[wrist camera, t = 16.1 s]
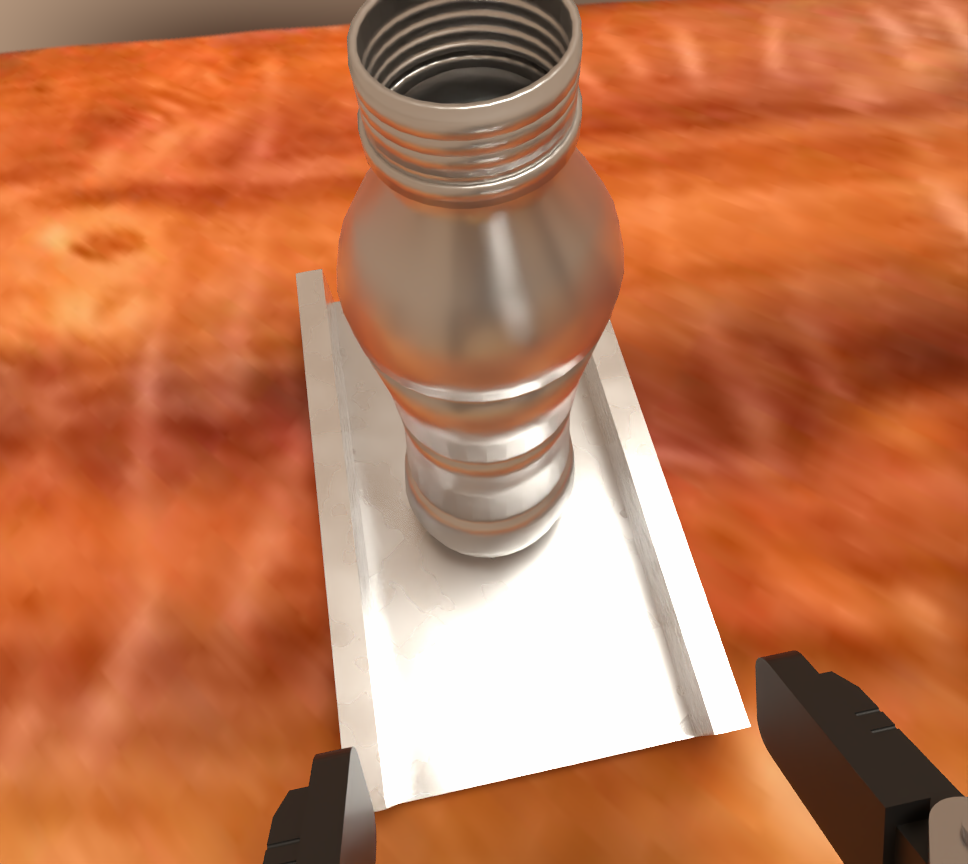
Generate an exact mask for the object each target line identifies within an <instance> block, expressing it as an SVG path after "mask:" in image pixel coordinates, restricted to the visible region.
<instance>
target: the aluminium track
mask: <svg viewBox="0 0 968 864" xmlns="http://www.w3.org/2000/svg"><path fill="white" fill-rule="evenodd" d="M296 281H297V291H298V302H299V312H300V322H301V333H302V343H303V353H304V364H305V374H306V384H307V395H308V405H309V416H310V426H311V436H312V447H313V457H314V467H315V478H316V488H317V498H318V509H319V519H320V530H321V540H322V550H323V561H324V571H325V581H326V592H327V602H328V613H329V623H330V633H331V644H332V654H333V664H334V675H335V685H336V695H337V706H338V716H339V727H340V737H341V747H342V749H344V748H348V747H353V746H354V747H355V748H356V750H357V753H358V756H359V759H360V763H361V766H362V770H363V773H364V777H365V781H366V784H367V788H368V791H369V795H370V798H371V802H372V806H373V810H374V812H376V811H381V810H385V809H388V808H390V807H392V806H394V805H397V804H400V803H404V802H409V801H413V800H418V799H422V798H426V797H431V796H435V795H440V794H444V793H449V792H453V791H457V790H462V789H466V788H471V787H475V786H479V785H484V784H488V783H493V782H497V781H502V780H506V779H510V778H515V777H519V776H524V775H528V774H532V773H537V772H541V771H546V770H550V769H555V768H559V767H563V766H568V765H572V764H577V763H581V762H585V761H590V760H594V759H599V758H603V757H608V756H612V755H616V754H621V753H625V752H630V751H634V750H638V749H643V748H647V747H652V746H656V745H661V744H665V743H669V742H674V741H678V740H683V739H687V738H691V737H696V736H706V735H716V734H720V733H725V732H729V731H734V730H738V729H742V728H747V727H751V726H750V724H749V721H748V718H747V715H746V712H745V709H744V706H743V703H742V700H741V698H740V695H739V692H738V689H737V686H736V683H735V680H734V677H733V674H732V672H731V669H730V666H729V663H728V660H727V657H726V654H725V651H724V648H723V646H722V643H721V640H720V637H719V634H718V631H717V628H716V625H715V622H714V619H713V617H712V614H711V611H710V608H709V605H708V602H707V599H706V596H705V593H704V591H703V588H702V585H701V582H700V579H699V576H698V573H697V570H696V567H695V565H694V562H693V559H692V556H691V553H690V550H689V547H688V544H687V541H686V539H685V536H684V533H683V530H682V527H681V524H680V521H679V518H678V515H677V513H676V510H675V507H674V504H673V501H672V498H671V495H670V492H669V489H668V487H667V484H666V481H665V478H664V475H663V472H662V469H661V466H660V463H659V461H658V458H657V455H656V452H655V449H654V446H653V443H652V440H651V437H650V435H649V432H648V429H647V426H646V423H645V420H644V417H643V414H642V411H641V408H640V406H639V403H638V400H637V397H636V394H635V391H634V388H633V385H632V382H631V380H630V377H629V374H628V371H627V368H626V365H625V362H624V359H623V356H622V354H621V351H620V348H619V345H618V342H617V339H616V336H615V333H614V330H613V328H612V325H611V322H610V319H609V321H608V323H607V325H606V327H605V329H604V331H603V333H602V335H601V337H600V339H599V341H598V343H597V345H596V347H595V349H594V351H593V353H592V355H591V357H590V359H589V361H588V363H587V365H586V367H585V369H584V372H583V374H582V376H581V378H580V381H579V385H578V388H577V391H576V395H575V398H574V401H573V404H572V408H571V411H570V435H571V439H572V445H573V450H574V463H575V470H574V483H573V488H572V492H571V496H570V498H569V500H568V502H567V504H566V506H565V509H564V511H563V512H562V513H561V515H560V516H559V517H558V519H557V520H556V521H555V523H554V524H553V525H552V526H551V527H550V529H549V530H548V531H547V532H546V533H545V534H544V535H542V536H541V537H540V538H539V539H538V540H537V541H536V542H534V543H533V544H531V545H529V546H528V547H526V548H524V549H523V550H520V551H517V552H515V553H512V554H509V555H505V556H499V557H493V558H488V557H474V556H469V555H465V554H461V553H459V552H457V551H454V550H452V549H450V548H448V547H446V546H445V545H444V544H442V543H441V542H440V541H438V540H437V539H436V538H435V537H433V536H432V535H431V534H430V533H429V532H428V531H427V530H426V529H425V528H424V527H423V525H422V524H421V523H420V522H419V521H418V520H417V518H416V516H415V514H414V512H413V510H412V509H411V507H410V504H409V500H408V497H407V494H406V486H405V463H404V462H405V455H406V448H407V445H406V436H405V427H404V425H403V422H402V419H401V417H400V415H399V413H398V410H397V408H396V405H395V403H394V400H393V398H392V396H391V393H390V392H389V390H388V389H387V387H386V386H385V384H384V382H383V381H382V379H381V378H380V376H379V375H378V373H377V371H376V370H375V368H374V367H373V365H372V364H371V362H370V360H369V359H368V357H367V356H366V355H365V353H364V352H363V350H362V348H361V346H360V345H359V343H358V341H357V339H356V338H355V336H354V334H353V332H352V330H351V327H350V325H349V323H348V321H347V319H346V317H345V315H344V313H343V310H342V306H341V303H340V301H339V302H334V299H333V297H332V294H331V291H330V289H329V286H328V284H327V281H326V278H325V276H324V273H323V271H322V269H319V270H313V271H308V272H302V273H297V274H296Z"/></svg>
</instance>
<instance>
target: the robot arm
mask: <svg viewBox="0 0 968 864" xmlns="http://www.w3.org/2000/svg"><path fill="white" fill-rule="evenodd" d="M756 696H757V721H758V726H759V730H760V734H761V737H762V739H763V742H764V744H765V746H766V748H767V750H768V752H769V753H770V755H771V756H772V758H773V759H774V761H775V762H776V764H777V765H778V767H779V768H780V770H781V771H782V773H783V774H784V776H785V777H786V779H787V780H788V782H789V783H790V785H791V786H792V787H793V789H794V790H795V792H796V793H797V795H798V796H799V798H800V799H801V801H802V802H803V804H804V805H805V807H806V808H807V810H808V811H809V813H810V814H811V815H812V817H813V818H814V820H815V821H816V823H817V824H818V826H819V827H820V829H821V830H822V832H823V833H824V835H825V836H826V838H827V839H828V841H829V842H830V844H831V845H832V846H833V848H834V849H835V851H836V852H837V854H838V855H839V857H840V858H841V860H842V861H843V863H844V864H968V797H965V796H963V795H962V794H961V793H960V792H959V791H958V790H957V789H956V788H955V787H954V786H953V785H952V783H951V782H950V781H949V780H948V779H947V778H946V777H945V776H944V775H943V774H942V773H941V772H940V771H939V770H938V769H937V768H936V767H935V766H934V765H933V764H932V763H931V762H930V761H929V760H928V759H927V757H926V756H925V755H924V754H923V753H922V752H921V751H920V750H919V749H918V748H917V747H916V746H915V745H914V744H913V743H912V742H911V741H910V740H909V739H908V738H907V737H906V736H905V735H904V734H903V733H902V731H901V730H900V729H896V727H895V724H894V723H893V722H892V721H891V720H890V719H889V718H888V717H887V716H886V715H885V714H884V713H883V712H880V711H879V708H878V707H877V705H876V704H875V703H874V702H873V701H872V700H871V699H870V698H869V697H868V696H867V695H866V694H865V693H864V692H863V691H862V690H861V689H860V688H859V687H858V686H856V685H854V684H853V683H851V682H849V681H847V680H846V679H844V678H842V677H840V676H839V675H837V674H835V673H833V672H832V671H831V672H826V673H822V674H819V673H818V672H817V671H816V670H815V669H814V668H813V666H812V665H811V664H810V663H809V662H808V661H807V660H806V659H805V658H804V656H803V655H802V654H801V653H799V652H798V651H789V652H784V653H780V654H775V655H770V656H766V657H761V658H758V659H757V661H756ZM375 861H376V824H375V816H374V810H373V806H372V802H371V798H370V795H369V791H368V788H367V784H366V781H365V777H364V773H363V770H362V766H361V763H360V759H359V756H358V753H357V750H356V748H355V747H354V746H353V747H348V748H344V749H339V750H334V751H330V752H325V753H320V754H316V755H315V757H314V759H313V764H312V770H311V776H310V782H309V786H308V787H304V788H299V789H295V790H290V791H289V792H288V794H287V795H286V797H285V799H284V800H283V802H282V803H281V805H280V807H279V808H278V810H277V811H276V813H275V815H274V816H273V820H272V824H271V829H270V833H269V838H268V843H267V850H266V852H265V856H264V861H263V864H375Z"/></svg>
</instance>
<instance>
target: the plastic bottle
mask: <svg viewBox="0 0 968 864" xmlns="http://www.w3.org/2000/svg"><path fill="white" fill-rule="evenodd" d="M582 35H583V34H582V30H581V18H580V15H579V12H578V8H577V6H576V4H575V3H574V1H573V0H367V1H366V2H365V3H364V4H363V5H362V6H361V7H360V8H359V10H358V12H357V13H356V15H355V17H354V19H353V20H352V22H351V25H350V29H349V32H348V36H347V46H348V66H349V69H350V73H351V77H352V81H353V85H354V89H355V93H356V97H357V101H358V105H359V110H358V130H359V134H360V138H361V142H362V146H363V150H364V153H365V156H366V159H367V161H368V164H369V165H370V167H371V168H370V169H369V170H368V172H367V173H366V175H365V177H364V179H363V181H362V183H361V185H360V187H359V189H358V191H357V193H356V195H355V197H354V199H353V201H352V203H351V205H350V207H349V210H348V212H347V214H346V216H345V218H344V221H343V225H342V229H341V234H340V238H339V247H338V259H337V292H338V296H339V299H340V303H341V306H342V310H343V313H344V315H345V317H346V319H347V321H348V323H349V325H350V327H351V330H352V332H353V334H354V336H355V338H356V339H357V341H358V343H359V345H360V346H361V348H362V350H363V352H364V353H365V355H366V356H367V357H368V359H369V360H370V362H371V364H372V365H373V367H374V368H375V370H376V371H377V373H378V375H379V376H380V378H381V379H382V381H383V382H384V384H385V386H386V387H387V389H388V390H389V392H390V393H391V396H392V398H393V400H394V403H395V405H396V408H397V410H398V413H399V415H400V417H401V419H402V422H403V425H404V427H405V436H406V445H407V448H406V455H405V462H404V463H405V486H406V494H407V497H408V500H409V504H410V507H411V509H412V510H413V512H414V514H415V516H416V518H417V520H418V521H419V522H420V523H421V524H422V525H423V527H424V528H425V529H426V530H427V531H428V532H429V533H430V534H431V535H432V536H433V537H435V538H436V539H437V540H438V541H440V542H441V543H442V544H444V545H445V546H446V547H448V548H450V549H452V550H454V551H457V552H459V553H461V554H465V555H469V556H474V557H488V558H493V557H499V556H505V555H509V554H512V553H515V552H517V551H520V550H523V549H524V548H526V547H528V546H529V545H531V544H533V543H534V542H536V541H537V540H538V539H539V538H540V537H541V536H542V535H544V534H545V533H546V532H547V531H548V530H549V529H550V527H551V526H552V525H553V524H554V523H555V521H556V520H557V519H558V517H559V516H560V515H561V513H562V512H563V511H564V509H565V506H566V504H567V502H568V500H569V498H570V496H571V492H572V488H573V483H574V470H575V463H574V450H573V445H572V439H571V435H570V411H571V408H572V404H573V401H574V398H575V395H576V391H577V388H578V385H579V381H580V378H581V376H582V374H583V372H584V369H585V367H586V365H587V363H588V361H589V359H590V357H591V355H592V353H593V351H594V349H595V347H596V345H597V343H598V341H599V339H600V337H601V335H602V333H603V331H604V329H605V327H606V325H607V323H608V321H609V319H610V317H611V314H612V311H613V308H614V305H615V303H616V300H617V297H618V295H619V291H620V287H621V282H622V278H623V274H624V248H623V242H622V237H621V231H620V226H619V220H618V217H617V213H616V209H615V206H614V202H613V200H612V198H611V196H610V194H609V192H608V191H607V189H606V187H605V185H604V183H603V182H602V180H601V179H600V178H599V176H598V175H597V174H596V172H595V171H594V169H593V168H592V167H591V165H590V164H589V162H588V161H587V160H586V158H585V157H584V156H583V155H582V154H581V153H580V151H579V150H578V149H577V148H576V145H577V142H578V138H579V135H580V127H581V117H582V96H581V93H580V89H579V75H580V64H581V55H582Z"/></svg>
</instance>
